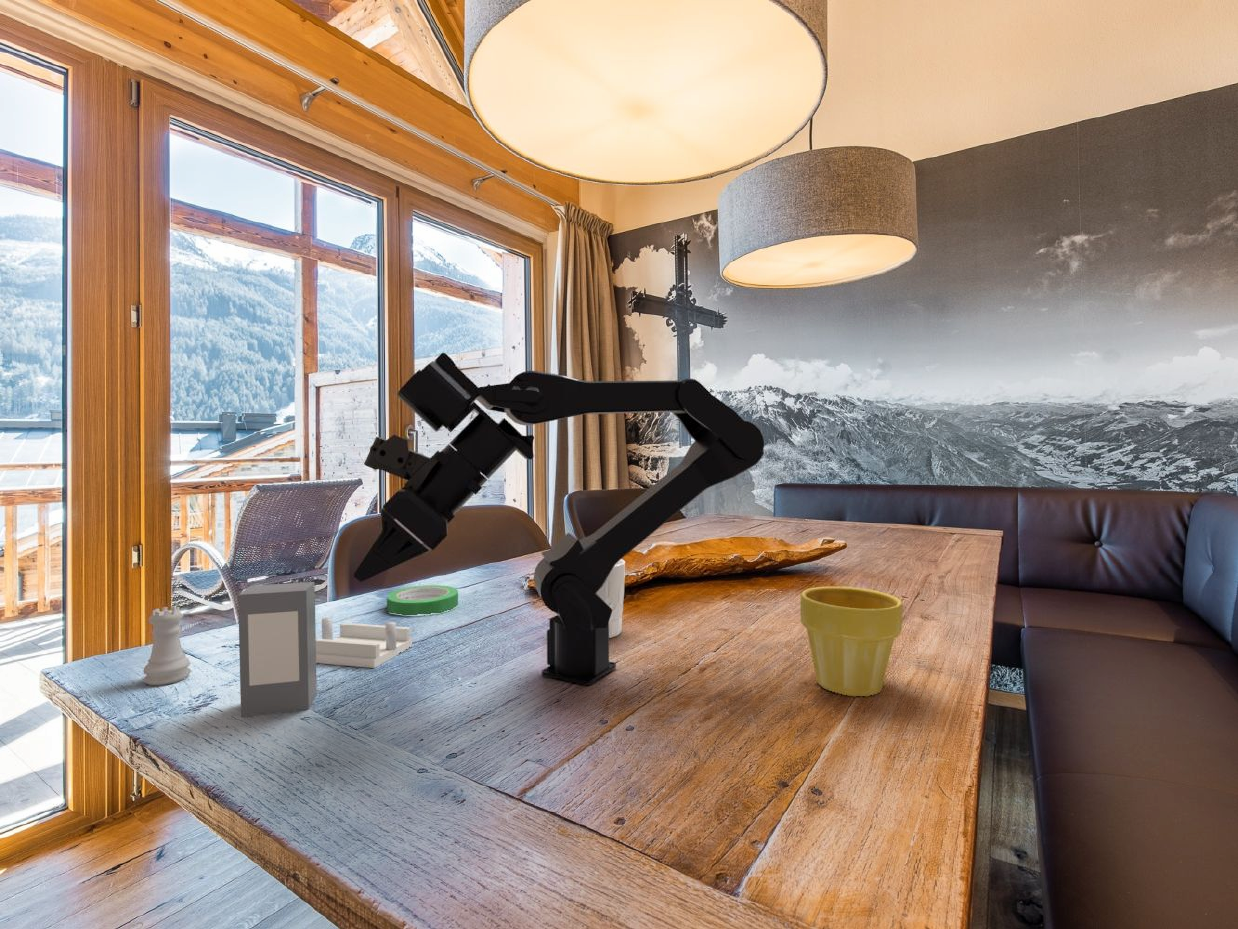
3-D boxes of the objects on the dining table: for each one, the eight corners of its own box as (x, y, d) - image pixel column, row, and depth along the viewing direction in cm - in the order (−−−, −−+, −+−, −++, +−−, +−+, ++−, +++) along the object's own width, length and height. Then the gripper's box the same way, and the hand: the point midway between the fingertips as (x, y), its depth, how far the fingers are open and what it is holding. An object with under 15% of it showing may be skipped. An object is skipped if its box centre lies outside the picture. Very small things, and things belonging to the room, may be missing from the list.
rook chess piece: (201, 674, 71) (199, 605, 71) (163, 688, 66) (161, 616, 66) (171, 670, 72) (169, 603, 72) (132, 684, 68) (130, 613, 67)
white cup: (595, 621, 91) (594, 554, 91) (636, 631, 86) (636, 560, 86) (557, 633, 85) (557, 562, 85) (600, 645, 80) (599, 569, 80)
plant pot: (897, 674, 70) (897, 589, 70) (906, 711, 60) (907, 612, 60) (802, 663, 73) (803, 582, 73) (797, 697, 64) (797, 604, 63)
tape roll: (419, 622, 92) (418, 605, 92) (372, 612, 98) (372, 595, 98) (472, 606, 102) (472, 590, 101) (426, 597, 107) (426, 582, 107)
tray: (413, 646, 80) (412, 614, 80) (376, 668, 72) (375, 633, 72) (344, 641, 82) (343, 610, 82) (300, 661, 75) (300, 627, 75)
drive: (316, 693, 65) (314, 581, 65) (308, 709, 61) (306, 590, 61) (253, 700, 63) (250, 585, 63) (240, 717, 60) (238, 594, 59)
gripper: (416, 414, 74) (320, 509, 72) (405, 404, 56) (276, 530, 54) (484, 476, 76) (394, 571, 74) (494, 486, 58) (375, 611, 56)
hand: (363, 569), depth 64 cm, fingers open, 9 cm apart
